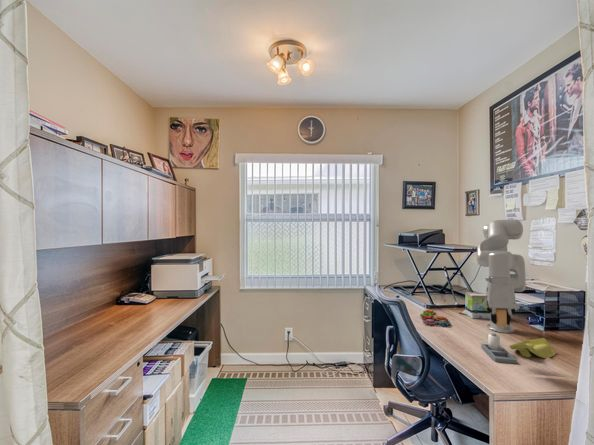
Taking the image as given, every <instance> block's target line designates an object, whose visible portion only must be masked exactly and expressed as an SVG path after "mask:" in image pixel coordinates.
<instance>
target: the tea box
mask: <svg viewBox="0 0 594 445" xmlns="http://www.w3.org/2000/svg"><path fill="white" fill-rule="evenodd" d="M464 296H465V298H464V299H465V302H464V304H465V306H464V307H465V308H464V309H465V310H464V311H465V313H466V314H467V315H466V314H465V313H464V314H465V315H466V316H468V317H469V318H471V319H485V320H486V319H487V320H488V319H489V320H490V312H489V311H488V310H487V309H485V308H484V307H482V306H481V305H482V303H483V302H484V301H485V300H486V292H469V291H468V292H467V291H466V292H465V294H464ZM487 307H489V308H490V306H489V305H487Z"/></svg>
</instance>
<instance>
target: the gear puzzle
mask: <svg viewBox="0 0 594 445" xmlns="http://www.w3.org/2000/svg"><path fill="white" fill-rule="evenodd" d="M422 312H423V313H420V318H421V320H422V323H423V324H424V326H426V327H430V326H432V327H436V328H437V327H439V328H443V327H446V328H452V327H453V326H454V325H452V324H451V321H450V320H449V319H448V317H445V315H440V314H437V312H436V311H434V310H432V309H425V310H423V311H422Z"/></svg>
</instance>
